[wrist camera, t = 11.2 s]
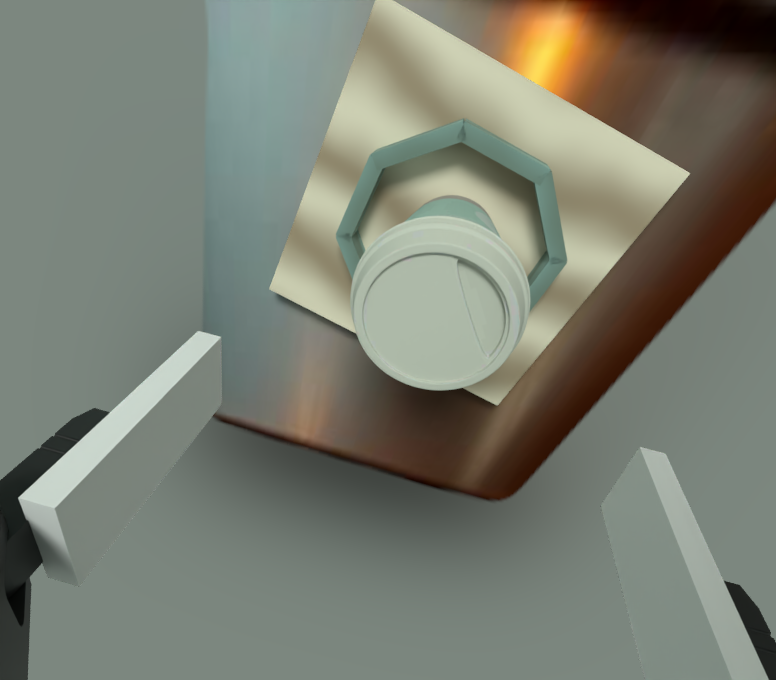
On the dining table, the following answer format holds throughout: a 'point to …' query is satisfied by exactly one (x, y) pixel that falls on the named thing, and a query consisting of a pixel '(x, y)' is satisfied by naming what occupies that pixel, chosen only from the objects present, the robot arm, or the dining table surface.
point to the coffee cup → (440, 297)
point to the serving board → (468, 177)
